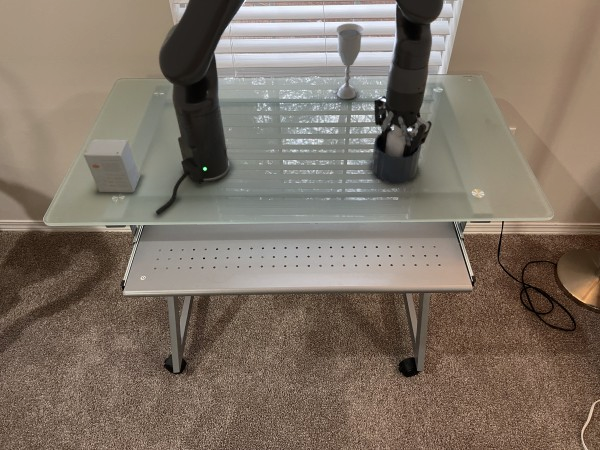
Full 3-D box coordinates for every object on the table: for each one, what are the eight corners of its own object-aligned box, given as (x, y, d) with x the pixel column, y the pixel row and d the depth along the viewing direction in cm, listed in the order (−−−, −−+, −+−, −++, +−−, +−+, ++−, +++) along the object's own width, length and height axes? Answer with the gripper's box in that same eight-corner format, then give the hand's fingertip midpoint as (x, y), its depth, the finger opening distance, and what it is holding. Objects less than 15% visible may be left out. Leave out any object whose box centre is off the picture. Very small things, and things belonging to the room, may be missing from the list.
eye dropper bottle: (385, 172, 113) (392, 127, 104) (383, 156, 116) (389, 112, 108) (405, 172, 112) (413, 127, 104) (402, 156, 116) (409, 112, 108)
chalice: (357, 102, 135) (361, 37, 122) (332, 100, 136) (334, 35, 123) (360, 88, 140) (365, 24, 127) (336, 85, 141) (338, 22, 128)
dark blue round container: (395, 189, 110) (399, 164, 105) (362, 167, 116) (364, 142, 111) (425, 169, 115) (430, 144, 110) (392, 149, 120) (395, 124, 115)
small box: (141, 176, 115) (128, 139, 107) (133, 193, 111) (120, 155, 103) (106, 175, 115) (92, 138, 108) (98, 192, 111) (82, 154, 104)
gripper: (367, 74, 102) (361, 142, 114) (422, 104, 94) (409, 173, 106) (392, 62, 105) (384, 129, 117) (448, 89, 97) (432, 158, 109)
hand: (396, 150), depth 111 cm, fingers closed on eye dropper bottle, 5 cm apart
